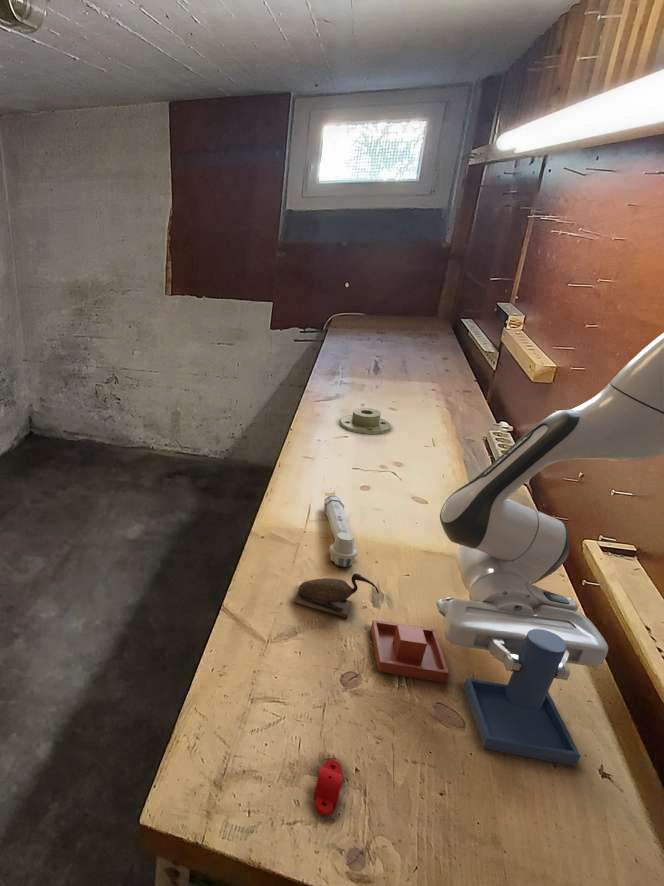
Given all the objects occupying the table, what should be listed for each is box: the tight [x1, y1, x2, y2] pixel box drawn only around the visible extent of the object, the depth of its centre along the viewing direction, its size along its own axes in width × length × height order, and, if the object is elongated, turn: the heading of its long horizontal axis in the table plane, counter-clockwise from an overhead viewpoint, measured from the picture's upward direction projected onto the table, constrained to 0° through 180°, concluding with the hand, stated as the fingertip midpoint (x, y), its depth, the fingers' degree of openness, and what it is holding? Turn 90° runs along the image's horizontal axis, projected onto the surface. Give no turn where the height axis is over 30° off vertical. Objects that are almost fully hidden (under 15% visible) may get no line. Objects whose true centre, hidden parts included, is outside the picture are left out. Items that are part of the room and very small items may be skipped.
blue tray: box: [462, 677, 581, 767], centre depth 82 cm, size 11×11×2 cm
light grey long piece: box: [323, 495, 358, 567], centre depth 127 cm, size 5×7×25 cm
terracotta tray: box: [370, 619, 450, 684], centre depth 95 cm, size 10×10×2 cm
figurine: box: [293, 573, 380, 619], centre depth 105 cm, size 14×4×9 cm, turn 61°
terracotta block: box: [393, 623, 427, 662], centre depth 94 cm, size 4×4×4 cm
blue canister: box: [506, 629, 567, 711], centre depth 78 cm, size 4×4×11 cm
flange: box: [340, 407, 391, 435], centre depth 185 cm, size 5×15×15 cm
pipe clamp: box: [313, 759, 344, 816], centre depth 74 cm, size 8×3×2 cm, turn 151°
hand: (538, 672), depth 77 cm, fingers closed on blue canister, 4 cm apart
